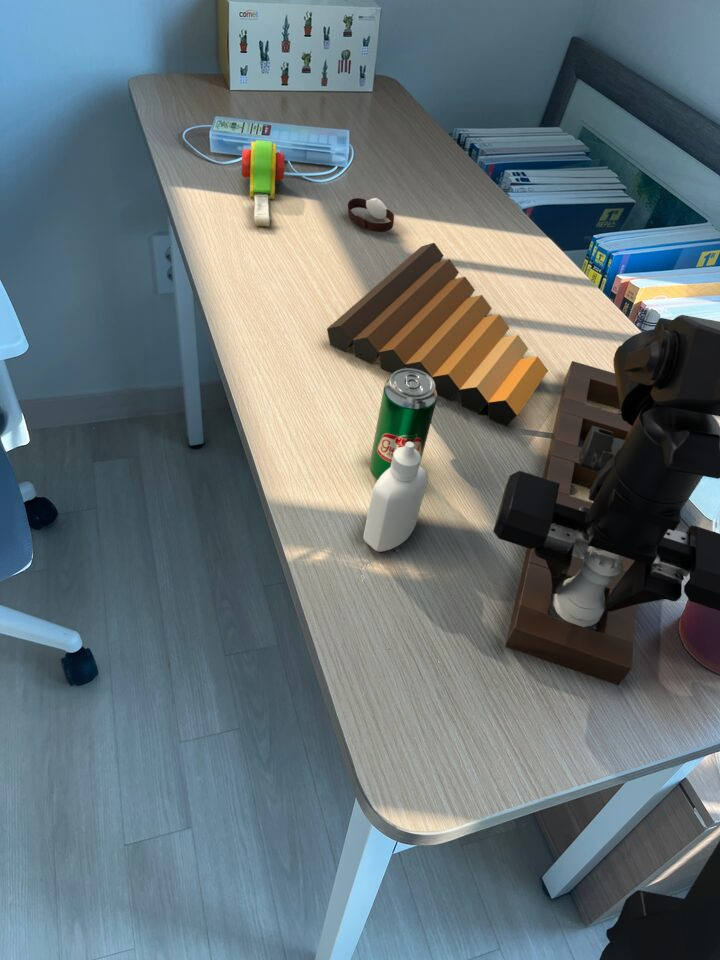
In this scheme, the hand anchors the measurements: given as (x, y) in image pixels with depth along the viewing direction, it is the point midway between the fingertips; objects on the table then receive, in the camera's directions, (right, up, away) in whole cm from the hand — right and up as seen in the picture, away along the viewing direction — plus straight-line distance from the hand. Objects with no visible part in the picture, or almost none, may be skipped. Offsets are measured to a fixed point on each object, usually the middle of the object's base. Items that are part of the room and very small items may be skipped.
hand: (581, 598), depth 66 cm
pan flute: (-7, +29, +31) cm, 43 cm away
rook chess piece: (0, -1, +1) cm, 2 cm away
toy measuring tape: (-34, +53, +49) cm, 80 cm away
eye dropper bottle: (-16, +5, +7) cm, 19 cm away
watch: (-18, +49, +48) cm, 70 cm away
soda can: (-16, +11, +13) cm, 23 cm away
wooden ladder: (+4, +8, +13) cm, 16 cm away
